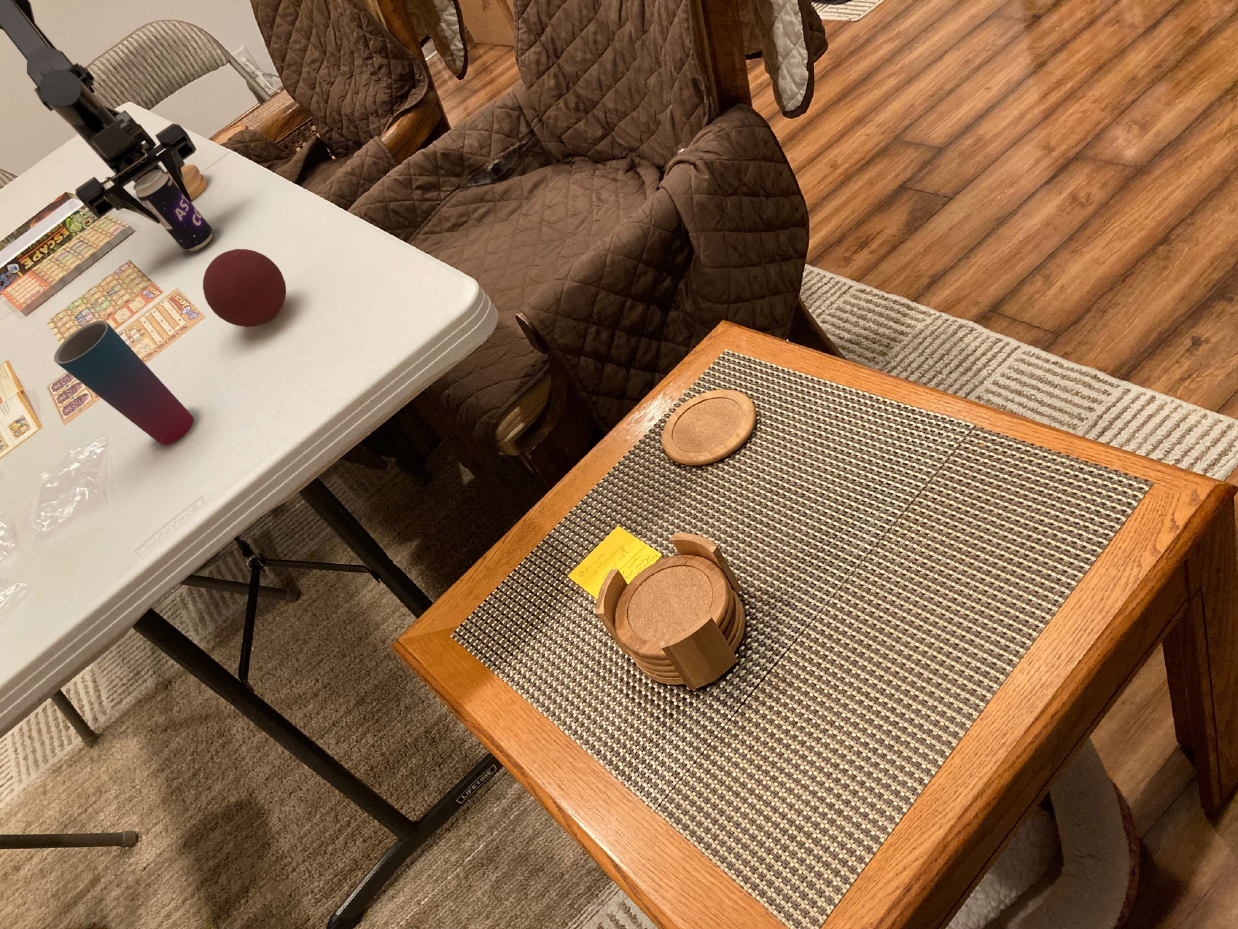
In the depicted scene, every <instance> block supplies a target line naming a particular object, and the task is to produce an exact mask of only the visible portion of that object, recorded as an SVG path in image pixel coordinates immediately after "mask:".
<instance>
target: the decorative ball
mask: <svg viewBox="0 0 1238 929" xmlns="http://www.w3.org/2000/svg"><path fill="white" fill-rule="evenodd" d="M202 290H203V295H204V299H205V301H206V303H207V305H208V307H209V308H210V309H211V310H212V312H213V313H214V314H215V315H216V316H218V317H219V319H221V320H223V321H225V322H227V323H228V324H231V325H233V326H237V327H244V328H251V327H258V326H259V327H260V326H262V325H264V324H266V323H268V322H271V321H272V320H273V319H274V318H276V316H278V314H279V313H280V312H281V311H282V309H283V306H284V304H285V302H286V296H287V286H286V281H285V278H284V276H283V272H282V271H281V270H280V268H279V267H278V265H277V264H276V263H275V262H274V261H273V260H272V259H270V258H269V257H268V256H266V255H265V254H264V253H261V252H258V251H256V250H252V249H247V248H235V249H231V250H227V251H224V252H222V253H220V254H218V255H217V256H216V257H215V258H213V260H212V261H210V263H209V265H208V266H207V268H206V269H205V272H204V275H203V278H202Z"/></svg>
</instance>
